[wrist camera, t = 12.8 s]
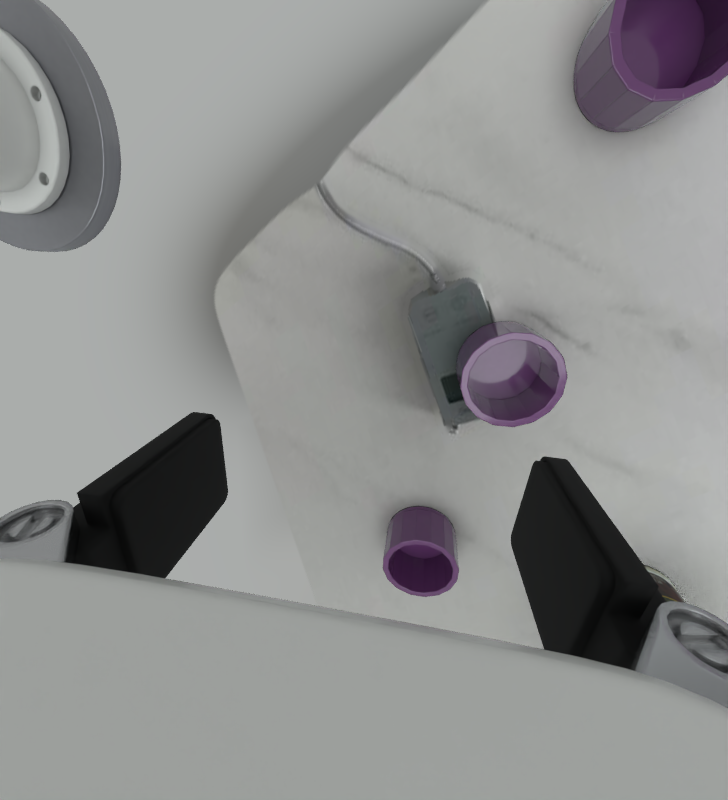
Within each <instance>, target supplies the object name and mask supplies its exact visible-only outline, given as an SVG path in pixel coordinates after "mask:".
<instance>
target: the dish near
mask: <svg viewBox="0 0 728 800" xmlns="http://www.w3.org/2000/svg"><path fill="white" fill-rule="evenodd" d="M727 75H728V0H607V2H606V3H605V5H604V6H603V8H602V9H601V11H600V12H599V14H598V15H597V17H596V19H595V20H594V22H593V24H592V26H591V27H590V29H589V31H588V32H587V34H586V36H585V38H584V40H583V42H582V44H581V47H580V50H579V53H578V56H577V60H576V64H575V71H574V91H575V96H576V100H577V103H578V105H579V108H580V109H581V111H582V113H583V114H584V116H585V117H586V118H587V119H588V120H589V121H590V122H591V123H592V124H594V125H595V126H597V127H599V128H601V129H604V130H607V131H612V132H625V131H631V130H636V129H639V128H641V127H644V126H646V125H648V124H650V123H652V122H654V121H656V120H658V119H661V118H663V117H664V116H666V115H668V114H669V113H671V112H672V111H674V110H676V109H677V108H679V107H681V106H682V105H684V104H686V103H687V102H689V101H691V100H692V99H694V98H695V97H697V96H699V95H700V94H702V93H704V92H705V91H707V90H709V89H710V88H712V87H713V86H715V85H716V84H718V83H719V82H720V81H721V80H722V79H723V78H725V77H726V76H727Z"/></svg>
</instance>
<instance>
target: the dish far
mask: <svg viewBox="0 0 728 800" xmlns="http://www.w3.org/2000/svg"><path fill="white" fill-rule="evenodd" d="M383 570H384V572H385V574H386V577H387V579H388V580H389V581H390V582H391V583H392V584H393V585H394V586H395V587H396V588H398V589H400V590H402V591H404V592H406V593H408V594H411V595H416V596H422V597H427V596H436V595H440V594H442V593H444V592H446V591H448V590H449V589H451V588H452V586H453V585H454V584H455V583H456V582H457V579H458V573H459V565H458V554H457V544H456V535H455V531H454V527H453V525H452V523H451V522H450V520H449V519H448V518H447V517H446V516H445V515H443V514H442V513H440V512H439V511H437V510H434V509H432V508H428V507H421V506H416V507H409V508H406V509H403V510H401V511H399V512H398V513H397V514H396V515H395V516H394V517H393V518H392V519H391V521H390V524H389V527H388V532H387V538H386V545H385V551H384V558H383Z"/></svg>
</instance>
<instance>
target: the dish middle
mask: <svg viewBox="0 0 728 800" xmlns="http://www.w3.org/2000/svg"><path fill="white" fill-rule="evenodd" d="M456 367H457V368H456V372H457V376H458V380H459V384H460V388H461V392H462V395H463V398H464V401H465V404H466V405H467V407H468V408H469V409H470V410H471V411H472V412H473V413H474V414H475V415H476V417H478V418H480V419H482V420H484V421H486V422H488V423H490V424H492V425H497V426H508V427H516V426H520V425H524V424H528V423H532V422H534V421H536V420H537V419H539V418H541V417H542V416H544V415H545V414H547V413H548V412H550V411H551V410H552V408H553V407H554V406H555V405H556V403H557V402H558V401H559V399H560V398H561V397H562V395H563V392H564V388H565V384H566V380H567V371H566V366H565V362H564V358H563V356H562V355H561V354H560V352H559V351H558V350H557V349H556V347H555V346H554V345H553V344H552V343H551V342H550V341H549V340H547V339H546V338H544V337H543V336H541V335H540V334H538V333H537V332H535V331H534V330H532V329H530V328H528V327H526V326H524V325H522V324H519V323H515V322H509V321H501V322H494V323H491V324H488V325H485V326H483V327H481V328H479V329H478V330H476V331H475V332H473V333H472V334H471V335H470V336H469V337H468V338H467V339H466V341H465V342H464V343H463V345H462V347H461V349H460V351H459V354H458V357H457V365H456Z"/></svg>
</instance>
